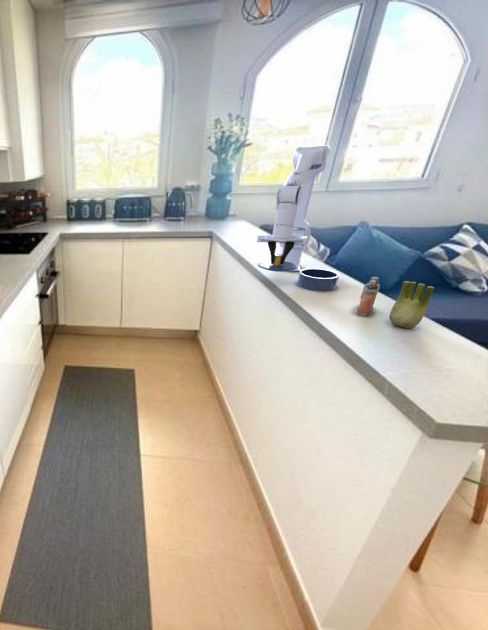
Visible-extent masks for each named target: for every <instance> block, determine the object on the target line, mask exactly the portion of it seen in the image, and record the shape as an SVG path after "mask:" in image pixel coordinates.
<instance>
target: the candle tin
mask: <svg viewBox="0 0 488 630" xmlns="http://www.w3.org/2000/svg"><path fill="white" fill-rule="evenodd" d="M339 277H340V275H339V273H338V272H336V271H333V270H329V269H324V268H304V269H301V271H299V273H298V278H297V286H298V287H301V288H302V289H306V290H309V291H316V292H329V291H334V290H335V289H336V287H337V284H338V280H339Z"/></svg>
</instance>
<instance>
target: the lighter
mask: <svg viewBox="0 0 488 630" xmlns="http://www.w3.org/2000/svg"><path fill="white" fill-rule="evenodd" d="M379 280H380V279H379V276H378V277H377V276H372V277H370V280H368V281H369V282H367V283H365V284H364V285H363V289H362V292H361V294H360V300H359V305H358V306H357V308H356V311H355V312H356V315H357V316H360V317H369V316H370V315H372V313H373V311H374V304H375V301H376V298H377V296H378V293H379V292H380V289H381V284H379Z"/></svg>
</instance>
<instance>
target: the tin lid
mask: <svg viewBox="0 0 488 630" xmlns="http://www.w3.org/2000/svg"><path fill="white" fill-rule="evenodd" d="M281 260H282V255H281V254H280V253H275V255H274V263H273V264H271V259H266V260H262V261H259V262H258V263H257V266H258V268H260V269H263V270H266V271H271V272H290V270H294V269H295V268H296V265H295V264H293V263H290V262H286V261H284V264H281Z"/></svg>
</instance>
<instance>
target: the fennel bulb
mask: <svg viewBox="0 0 488 630" xmlns="http://www.w3.org/2000/svg"><path fill="white" fill-rule="evenodd" d="M401 285H402V286H401V289H400V292H399V295H398V298H397V299H396V301H395V302H394V304H393V306H392V308H391V310H390V312H389V314H388V315H389V316H388V317H389V321H390V322H391V324H393V325H395V326H396V327H399V328H402V329H414V328H415V327H417V326H418V325H419V324H420V323H421V321H422V320H423V318H424V316H425V314H426V312H427V308H428V304H429V302H430V299H431V296H432V294H433V292H434V290H435V286H427V287H426V284H424V283H418V284H417V282H416V281H407V280H404V281H403V282H402V284H401ZM416 285H417V286H416Z"/></svg>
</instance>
